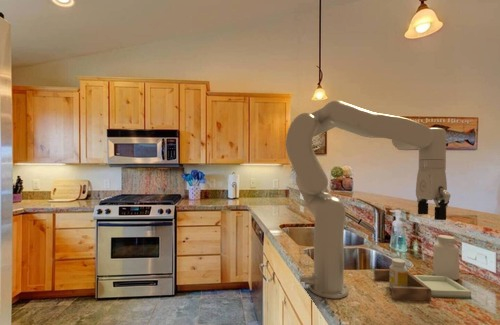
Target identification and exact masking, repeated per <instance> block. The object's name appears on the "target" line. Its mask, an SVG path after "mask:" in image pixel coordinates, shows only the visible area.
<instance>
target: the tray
mask: <svg viewBox="0 0 500 325" xmlns="http://www.w3.org/2000/svg"><path fill="white" fill-rule="evenodd" d="M412 275H413V276H414V277H416V278H417V279H418V280H420V281H421V282H422V283H423V284H425V285H426V286H427V287H429V288H430V289H431V298H432V297H434V298H435V297H436V298H438V297H439V298H460V299H461V298H462V299H463V298H466V299H468V298H470V299H471V298H472V291H471V289H468V288H466V287H465V286H463V285H462V284H460V283H458V282H456V280H452V279H450V278H449V277H447V276H436V275H427V274H426V275H424V274H423V275H421V274H420V275H419V274H412Z"/></svg>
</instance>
